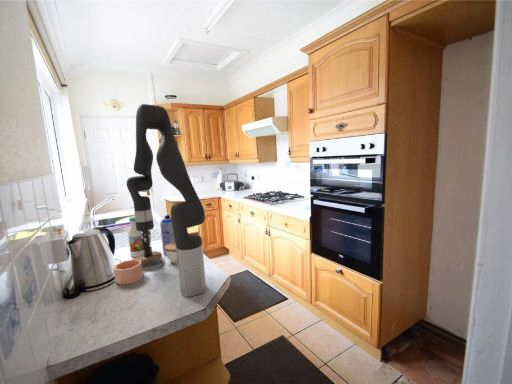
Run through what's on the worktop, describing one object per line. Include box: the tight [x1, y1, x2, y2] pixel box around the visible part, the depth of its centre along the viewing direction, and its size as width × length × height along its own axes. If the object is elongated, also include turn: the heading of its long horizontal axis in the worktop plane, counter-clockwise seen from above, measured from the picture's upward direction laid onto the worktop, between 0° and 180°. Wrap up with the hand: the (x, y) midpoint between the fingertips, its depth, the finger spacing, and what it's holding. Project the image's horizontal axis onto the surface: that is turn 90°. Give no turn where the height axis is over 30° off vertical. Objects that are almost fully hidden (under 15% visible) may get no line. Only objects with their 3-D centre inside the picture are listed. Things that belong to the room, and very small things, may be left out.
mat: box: [142, 256, 163, 271], centre depth 121 cm, size 11×11×1 cm
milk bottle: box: [127, 215, 144, 258], centre depth 132 cm, size 8×8×20 cm
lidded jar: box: [165, 242, 178, 264], centre depth 123 cm, size 11×11×9 cm
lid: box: [134, 246, 163, 263], centre depth 120 cm, size 12×12×5 cm
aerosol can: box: [159, 214, 175, 257], centre depth 132 cm, size 8×8×20 cm
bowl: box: [113, 258, 144, 286], centre depth 107 cm, size 10×10×6 cm
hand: (148, 254), depth 120 cm, fingers closed on lid, 3 cm apart
